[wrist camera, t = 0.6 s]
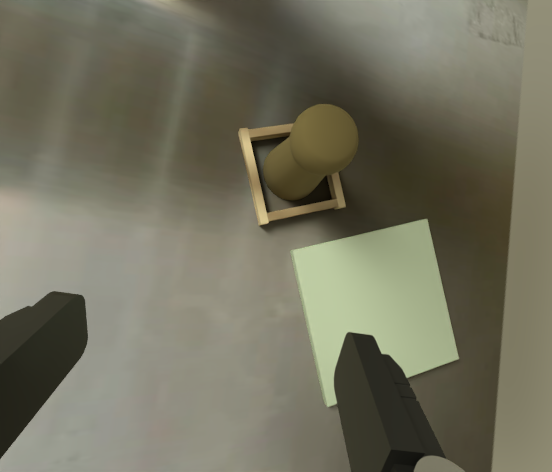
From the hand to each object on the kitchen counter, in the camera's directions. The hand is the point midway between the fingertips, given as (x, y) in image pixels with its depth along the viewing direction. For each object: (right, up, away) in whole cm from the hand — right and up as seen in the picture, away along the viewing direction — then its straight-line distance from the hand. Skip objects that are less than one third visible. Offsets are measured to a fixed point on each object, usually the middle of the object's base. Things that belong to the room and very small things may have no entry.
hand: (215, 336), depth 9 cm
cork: (+3, +10, +23) cm, 25 cm away
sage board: (+13, -5, +24) cm, 28 cm away
